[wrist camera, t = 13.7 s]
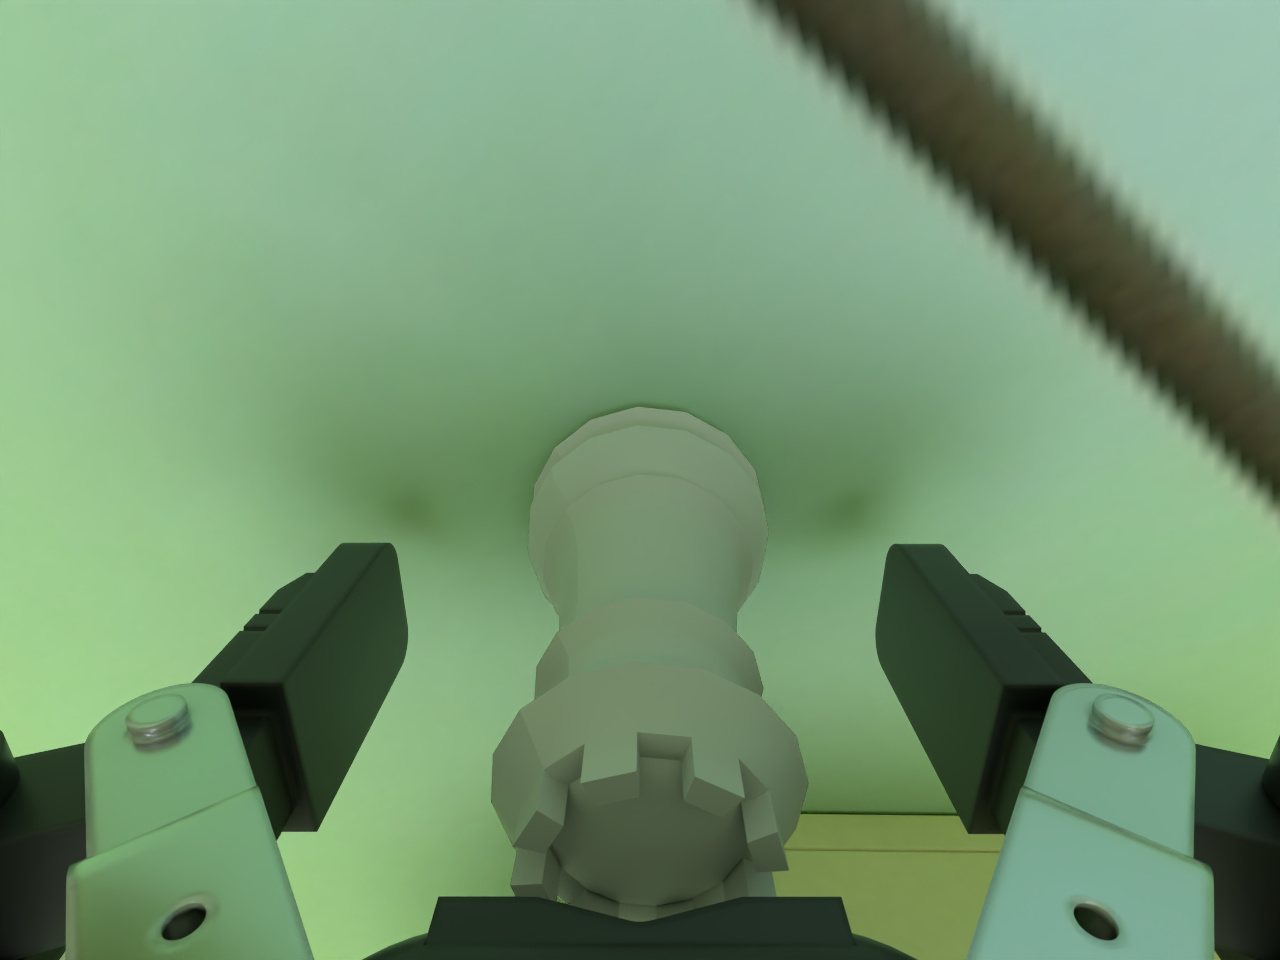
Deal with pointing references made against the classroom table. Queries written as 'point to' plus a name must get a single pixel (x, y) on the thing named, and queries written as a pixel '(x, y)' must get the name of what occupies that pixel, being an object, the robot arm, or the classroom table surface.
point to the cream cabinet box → (896, 877)
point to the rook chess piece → (647, 681)
